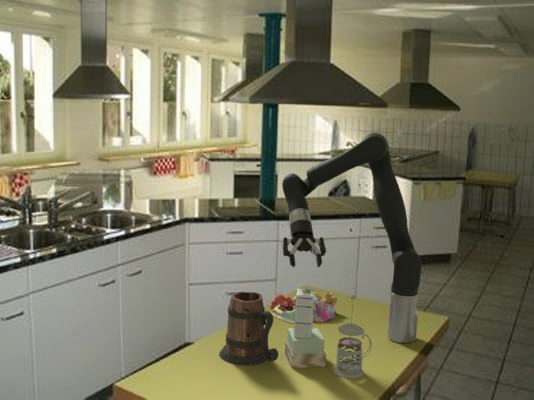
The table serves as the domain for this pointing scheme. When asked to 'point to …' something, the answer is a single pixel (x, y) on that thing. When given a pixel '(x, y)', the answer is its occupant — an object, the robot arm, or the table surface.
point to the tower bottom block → (304, 359)
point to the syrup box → (304, 313)
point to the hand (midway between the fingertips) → (306, 266)
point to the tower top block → (306, 343)
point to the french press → (348, 365)
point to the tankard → (248, 331)
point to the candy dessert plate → (287, 310)
